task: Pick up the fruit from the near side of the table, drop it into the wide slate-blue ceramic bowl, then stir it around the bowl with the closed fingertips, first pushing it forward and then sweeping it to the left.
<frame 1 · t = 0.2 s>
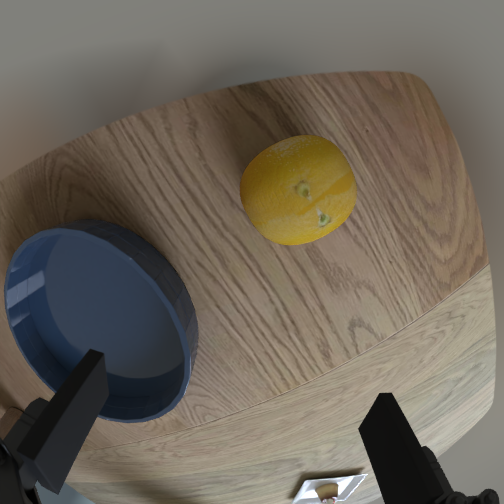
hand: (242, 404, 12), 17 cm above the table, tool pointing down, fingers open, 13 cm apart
dessert: (326, 486, 40), on the table
planter: (27, 423, 36), on the table
fruit: (290, 187, 26), on the table
bowl: (100, 320, 29), on the table
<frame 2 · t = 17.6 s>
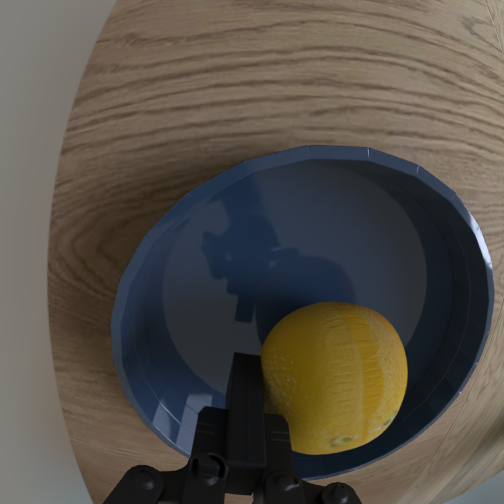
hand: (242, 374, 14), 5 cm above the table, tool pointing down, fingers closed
fruit: (313, 339, 18), point 1 cm above the table, touching bowl, gripper
bowl: (312, 334, 19), on the table
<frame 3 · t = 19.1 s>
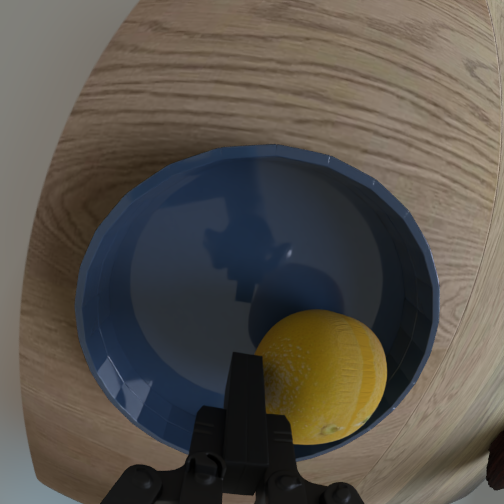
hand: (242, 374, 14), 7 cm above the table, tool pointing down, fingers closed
vase: (503, 434, 29), on the table
fruit: (297, 342, 20), point 1 cm above the table, touching bowl, gripper
bowl: (258, 321, 21), on the table
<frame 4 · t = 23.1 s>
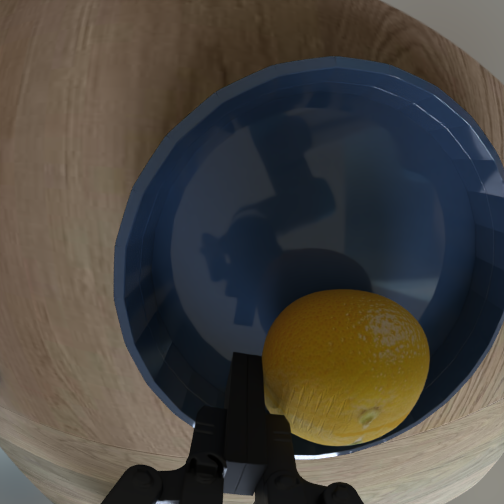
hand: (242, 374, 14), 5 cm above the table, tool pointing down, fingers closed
fruit: (325, 327, 18), point 1 cm above the table, touching gripper
bowl: (335, 279, 17), on the table
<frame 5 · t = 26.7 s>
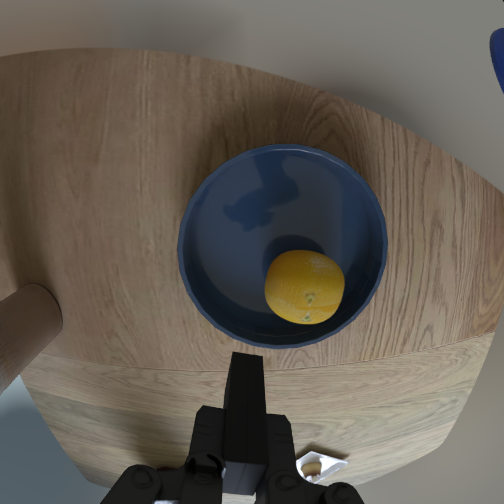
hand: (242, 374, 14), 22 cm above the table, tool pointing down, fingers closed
dessert: (310, 465, 48), on the table
planter: (41, 309, 38), on the table
fruit: (298, 273, 36), point 1 cm above the table, touching bowl
bowl: (282, 244, 35), on the table
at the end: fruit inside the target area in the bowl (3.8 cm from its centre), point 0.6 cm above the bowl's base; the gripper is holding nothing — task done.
